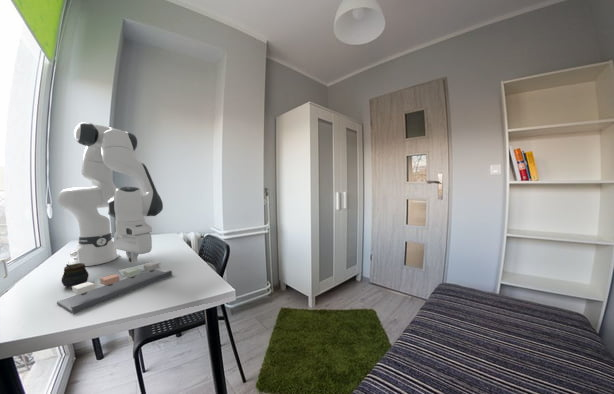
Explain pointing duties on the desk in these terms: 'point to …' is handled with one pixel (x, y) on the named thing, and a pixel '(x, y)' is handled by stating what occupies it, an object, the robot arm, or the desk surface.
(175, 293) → the desk surface
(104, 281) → the key
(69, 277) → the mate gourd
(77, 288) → the key
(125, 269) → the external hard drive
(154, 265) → the key
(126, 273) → the key
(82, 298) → the base
